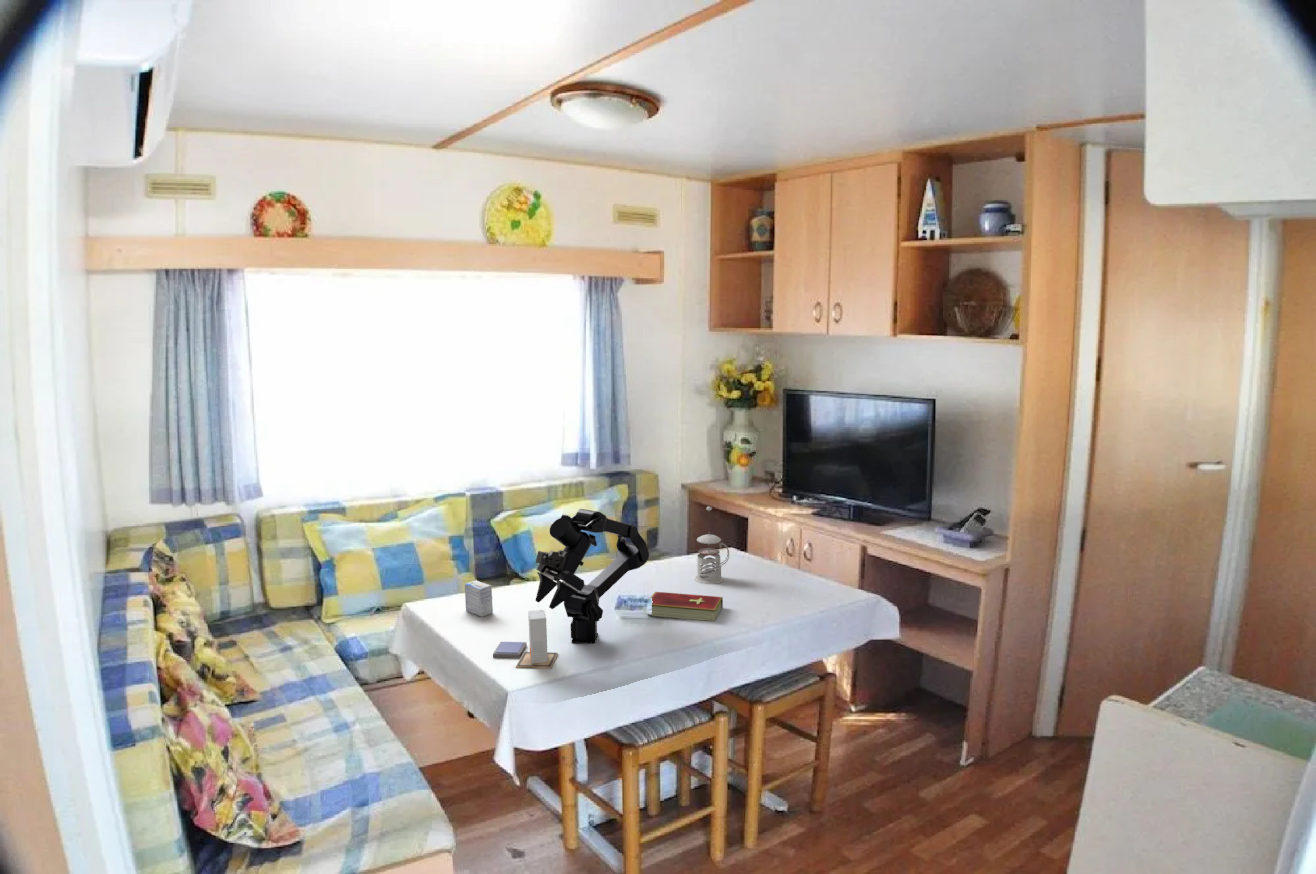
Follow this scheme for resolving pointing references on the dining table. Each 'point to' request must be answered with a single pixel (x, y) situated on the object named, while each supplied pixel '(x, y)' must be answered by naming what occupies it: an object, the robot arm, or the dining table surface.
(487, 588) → the medicine box
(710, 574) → the french press
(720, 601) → the hardcover book
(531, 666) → the marked board
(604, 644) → the dining table surface
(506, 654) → the ink pad
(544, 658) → the skincare box
